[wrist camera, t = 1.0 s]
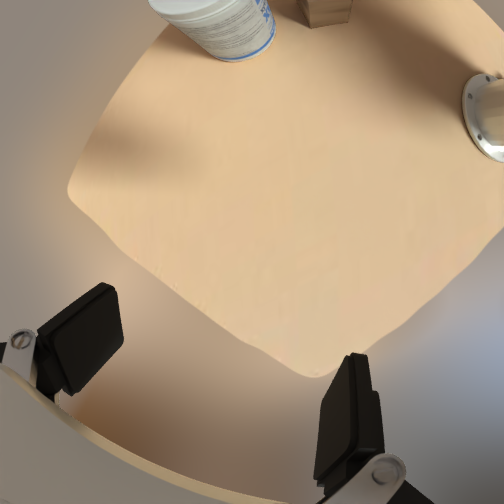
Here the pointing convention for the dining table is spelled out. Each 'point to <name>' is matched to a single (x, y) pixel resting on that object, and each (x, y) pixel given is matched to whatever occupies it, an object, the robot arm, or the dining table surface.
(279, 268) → the dining table surface
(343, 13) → the walnut block
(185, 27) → the supplement tub
